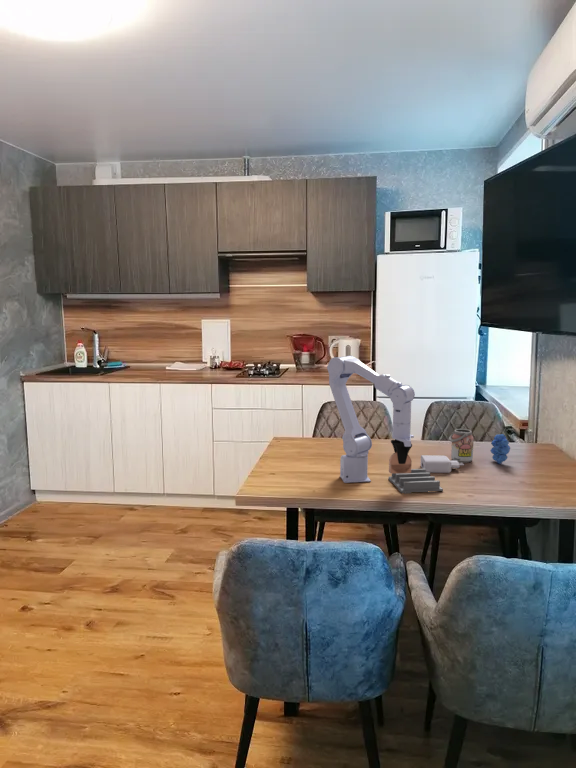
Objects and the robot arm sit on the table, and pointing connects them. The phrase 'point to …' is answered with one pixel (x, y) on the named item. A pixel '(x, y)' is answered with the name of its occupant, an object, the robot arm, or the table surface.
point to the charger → (438, 464)
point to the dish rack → (415, 481)
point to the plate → (399, 465)
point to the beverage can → (462, 445)
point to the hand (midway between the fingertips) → (400, 462)
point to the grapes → (500, 448)
